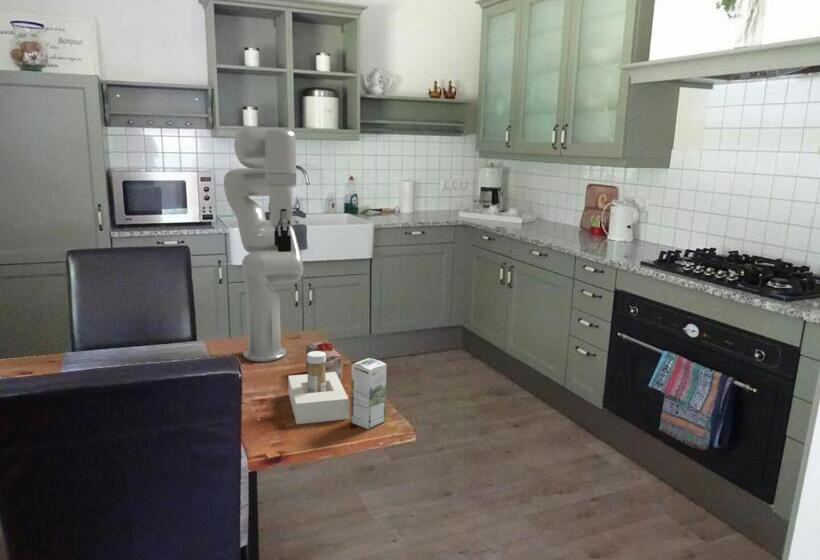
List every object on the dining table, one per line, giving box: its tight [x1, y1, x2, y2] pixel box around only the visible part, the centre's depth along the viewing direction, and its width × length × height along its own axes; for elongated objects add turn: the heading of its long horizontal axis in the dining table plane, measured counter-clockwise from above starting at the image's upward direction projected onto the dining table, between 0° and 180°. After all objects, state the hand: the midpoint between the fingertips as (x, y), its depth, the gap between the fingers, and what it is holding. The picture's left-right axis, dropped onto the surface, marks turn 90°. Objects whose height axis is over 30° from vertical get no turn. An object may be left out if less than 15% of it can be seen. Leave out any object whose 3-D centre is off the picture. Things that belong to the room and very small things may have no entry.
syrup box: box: [350, 357, 388, 430], centre depth 140 cm, size 6×6×14 cm
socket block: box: [287, 372, 350, 425], centre depth 149 cm, size 18×12×5 cm, turn 16°
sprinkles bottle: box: [306, 351, 326, 393], centre depth 148 cm, size 5×5×14 cm
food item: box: [305, 341, 344, 383], centre depth 167 cm, size 14×8×10 cm, turn 29°
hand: (282, 248), depth 156 cm, fingers open, 9 cm apart
